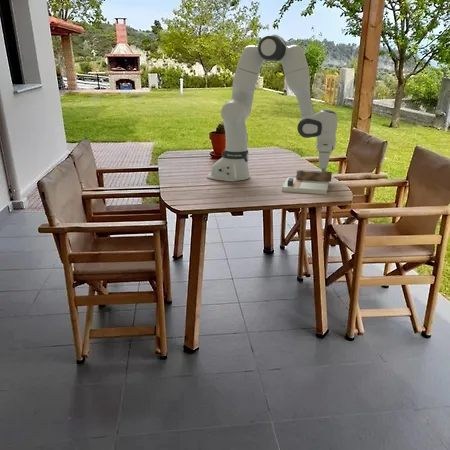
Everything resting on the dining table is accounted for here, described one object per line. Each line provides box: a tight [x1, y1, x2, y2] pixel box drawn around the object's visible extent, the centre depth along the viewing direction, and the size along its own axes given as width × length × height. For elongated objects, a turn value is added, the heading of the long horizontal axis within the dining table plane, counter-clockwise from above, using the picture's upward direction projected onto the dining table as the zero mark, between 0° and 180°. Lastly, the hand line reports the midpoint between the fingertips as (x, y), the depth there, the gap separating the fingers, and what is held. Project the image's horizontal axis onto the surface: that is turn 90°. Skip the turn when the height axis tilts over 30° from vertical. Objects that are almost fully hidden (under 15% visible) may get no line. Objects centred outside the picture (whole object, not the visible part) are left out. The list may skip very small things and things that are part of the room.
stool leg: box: [295, 169, 333, 183], centre depth 196 cm, size 17×3×4 cm, turn 73°
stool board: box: [281, 176, 330, 195], centre depth 191 cm, size 20×18×4 cm
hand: (323, 173), depth 198 cm, fingers closed
